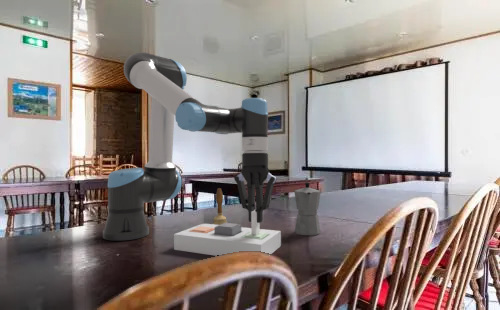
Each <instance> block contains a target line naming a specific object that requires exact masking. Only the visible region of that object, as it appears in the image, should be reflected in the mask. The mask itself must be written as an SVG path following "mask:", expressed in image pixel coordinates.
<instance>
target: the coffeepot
mask: <svg viewBox="0 0 500 310" xmlns="http://www.w3.org/2000/svg"><path fill="white" fill-rule="evenodd" d="M304 185H305V187H302V188H299V189H296V190H294V192H293V193H294V196H295V197H294V198H295V206H296V209H297V215H296V219H295V227H294V232H295V234H297V235H301V236H317V235H319V234H321V232H322V231H321V225H320V221H319V215H318V210H319V205H320V198H321V192H322V191H321V190H318V189H315V188H312V187H310V182H305V183H304Z"/></svg>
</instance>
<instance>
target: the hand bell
mask: <svg viewBox="0 0 500 310" xmlns="http://www.w3.org/2000/svg"><path fill="white" fill-rule="evenodd" d="M215 201H216V205H217V215H216V216H214V217H213V222H212V224H214V225H221V224H223V223H228V221H227V217H226V216H224V215H223V208H222V207H223V201H224V195H223V191H222V188H220V187H219V188H217V190H216V194H215Z"/></svg>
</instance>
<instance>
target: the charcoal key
mask: <svg viewBox="0 0 500 310" xmlns="http://www.w3.org/2000/svg"><path fill="white" fill-rule="evenodd" d="M241 227H242V224H239V223H232V222H231V223H230V222H227V223H223V224H221V225H218V226H216V227H215V234H216V235H225V236H235V235H237V234H239V233H241Z"/></svg>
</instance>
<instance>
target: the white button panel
mask: <svg viewBox="0 0 500 310" xmlns="http://www.w3.org/2000/svg"><path fill="white" fill-rule="evenodd" d="M200 226H202V227H212V228H215V227H216V226H218V225H214V224H213V223H211V224H210V223H201V224H198V225H195V226H192V227H189V228H187V229H184V230H182V231H178V232H176V233H174V234H173V250H175V251H181V252H189V253H195V254H201V255H209V256H210V255H211V256H214V257H215V256H216V257H218V256H217V255H222V254H227V253H233V252H239V251H261V252H265V253H269V254H273V253H274V252H275V251H277V250H278V249H279V248H280V247H281V246H282V231H281V230H273V229H264V228H260V233H266V234H269V235H268V236H267V237H265V238H264V239H262V240H260V239H252V238H243V237H242V236H244V235H246V234H248V233H249V232H251V227H246V226H245V227H243V226H241V233H239V234H237V235H235V236H225V235H216V234H215V230H213V231H211V232H208V233H199V232H190V230H192V229H195V228H198V227H200Z"/></svg>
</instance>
